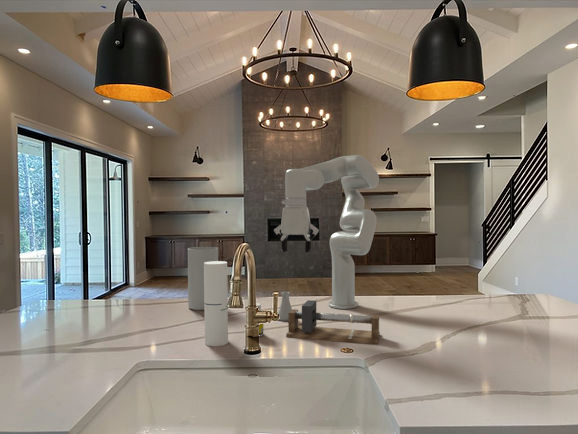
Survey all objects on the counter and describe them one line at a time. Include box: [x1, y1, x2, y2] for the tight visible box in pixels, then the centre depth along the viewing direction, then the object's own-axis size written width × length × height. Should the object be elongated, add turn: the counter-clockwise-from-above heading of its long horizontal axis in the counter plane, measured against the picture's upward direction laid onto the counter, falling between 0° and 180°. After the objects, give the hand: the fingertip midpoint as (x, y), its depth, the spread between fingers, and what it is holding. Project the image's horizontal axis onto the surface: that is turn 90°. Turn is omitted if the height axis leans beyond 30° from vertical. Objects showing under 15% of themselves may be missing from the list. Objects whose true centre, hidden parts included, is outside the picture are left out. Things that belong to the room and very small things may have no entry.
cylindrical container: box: [204, 260, 229, 347], centre depth 129 cm, size 7×7×25 cm
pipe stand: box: [285, 308, 381, 345], centre depth 135 cm, size 29×10×7 cm, turn 74°
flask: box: [277, 291, 293, 322], centre depth 157 cm, size 7×7×10 cm
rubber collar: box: [301, 299, 318, 332], centre depth 138 cm, size 3×8×8 cm, turn 164°
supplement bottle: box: [255, 302, 264, 337], centre depth 137 cm, size 6×6×10 cm
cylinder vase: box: [187, 246, 219, 311], centre depth 176 cm, size 12×12×25 cm
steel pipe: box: [295, 310, 372, 325], centre depth 135 cm, size 27×3×3 cm, turn 74°
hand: (296, 251), depth 151 cm, fingers open, 7 cm apart
